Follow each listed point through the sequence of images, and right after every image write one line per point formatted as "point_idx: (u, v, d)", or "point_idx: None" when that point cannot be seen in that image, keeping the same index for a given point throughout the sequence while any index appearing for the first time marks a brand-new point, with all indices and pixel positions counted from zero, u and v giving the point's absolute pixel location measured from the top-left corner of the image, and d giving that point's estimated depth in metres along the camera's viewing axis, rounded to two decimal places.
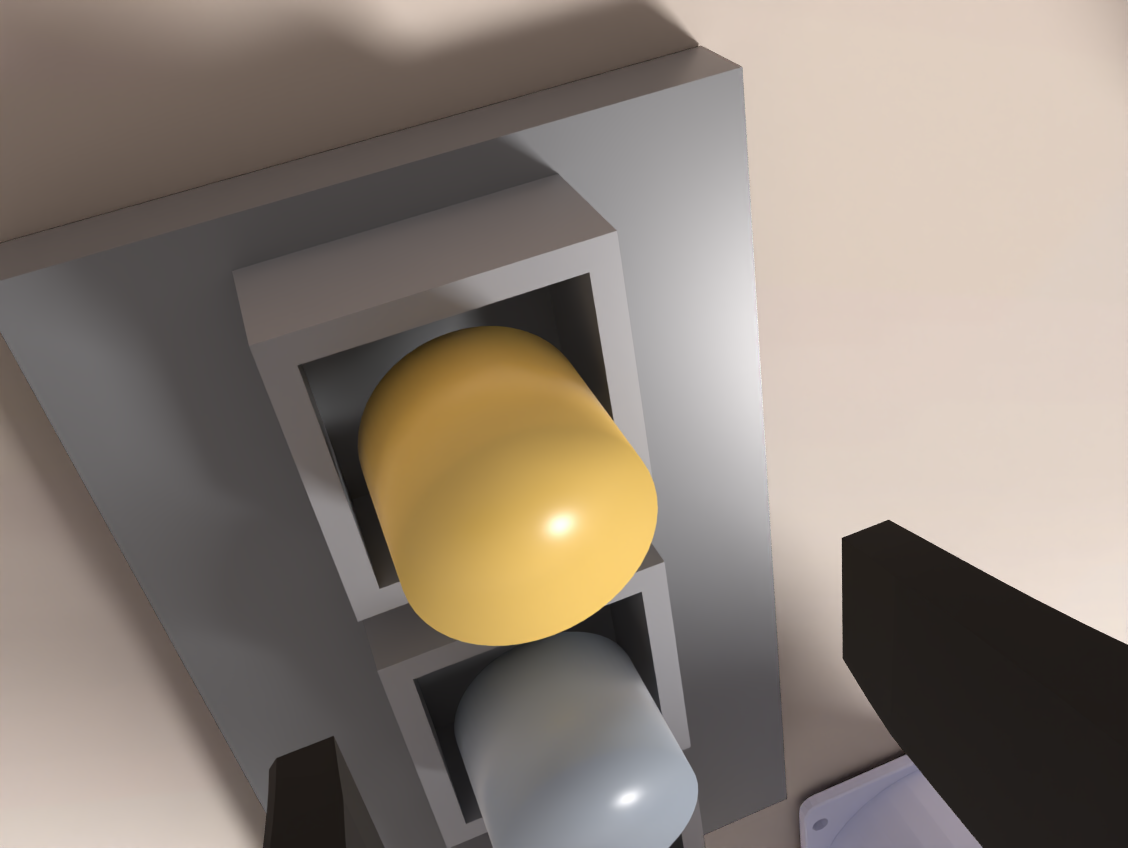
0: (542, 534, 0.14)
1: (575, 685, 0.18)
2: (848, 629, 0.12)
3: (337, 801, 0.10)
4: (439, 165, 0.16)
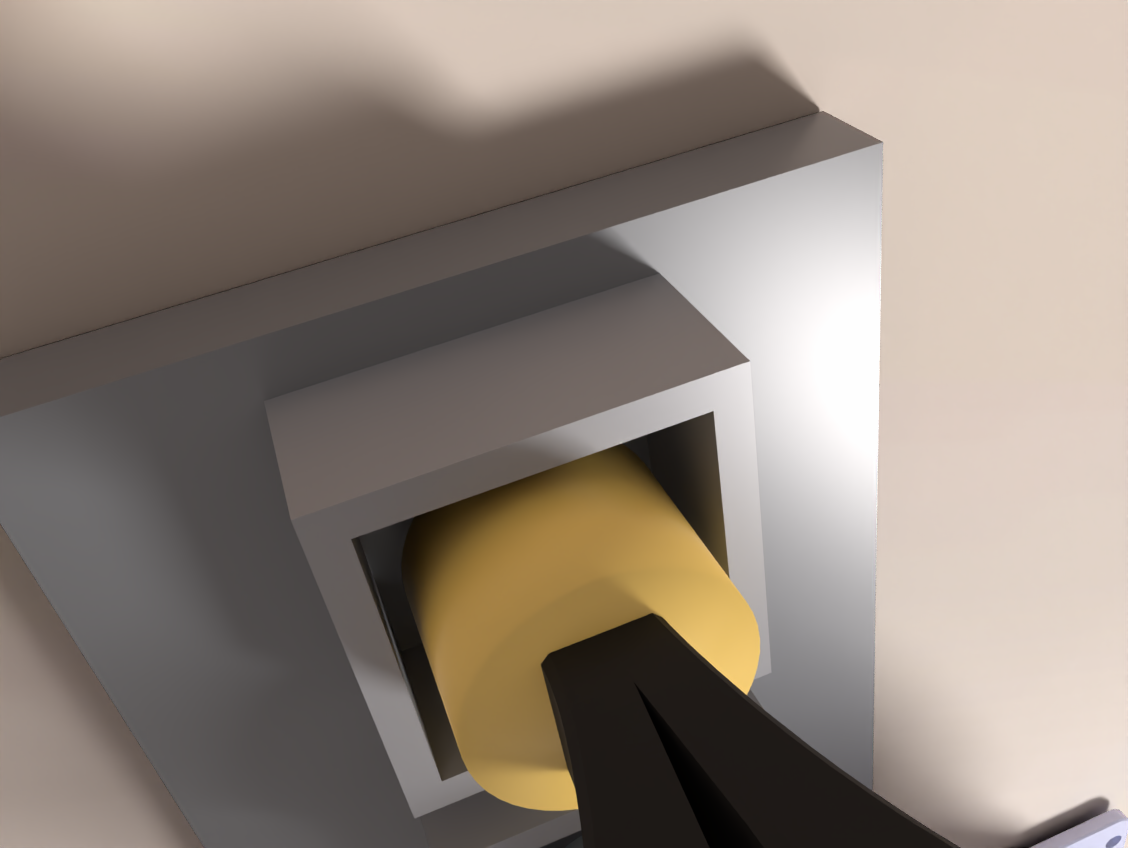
0: None
1: None
2: None
3: (627, 685, 0.10)
4: (519, 269, 0.13)
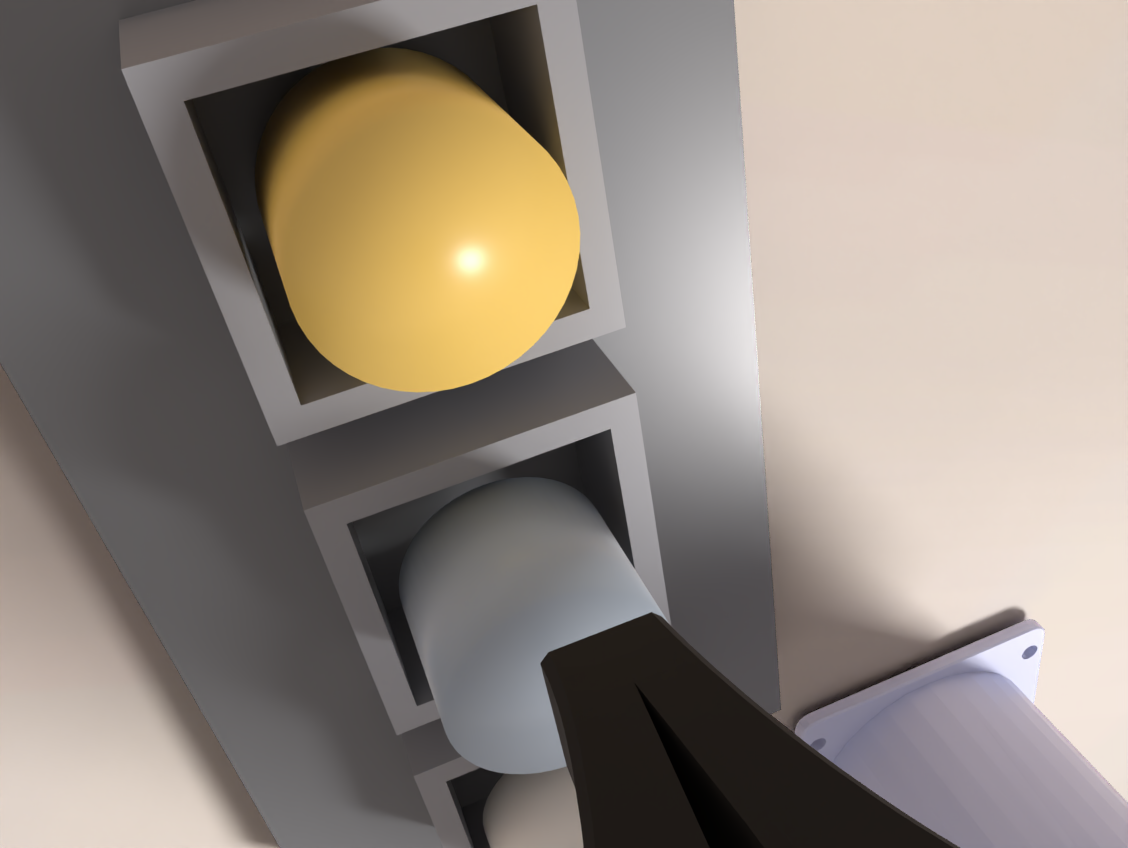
0: (449, 251, 0.13)
1: (533, 528, 0.16)
2: None
3: (627, 685, 0.10)
4: None
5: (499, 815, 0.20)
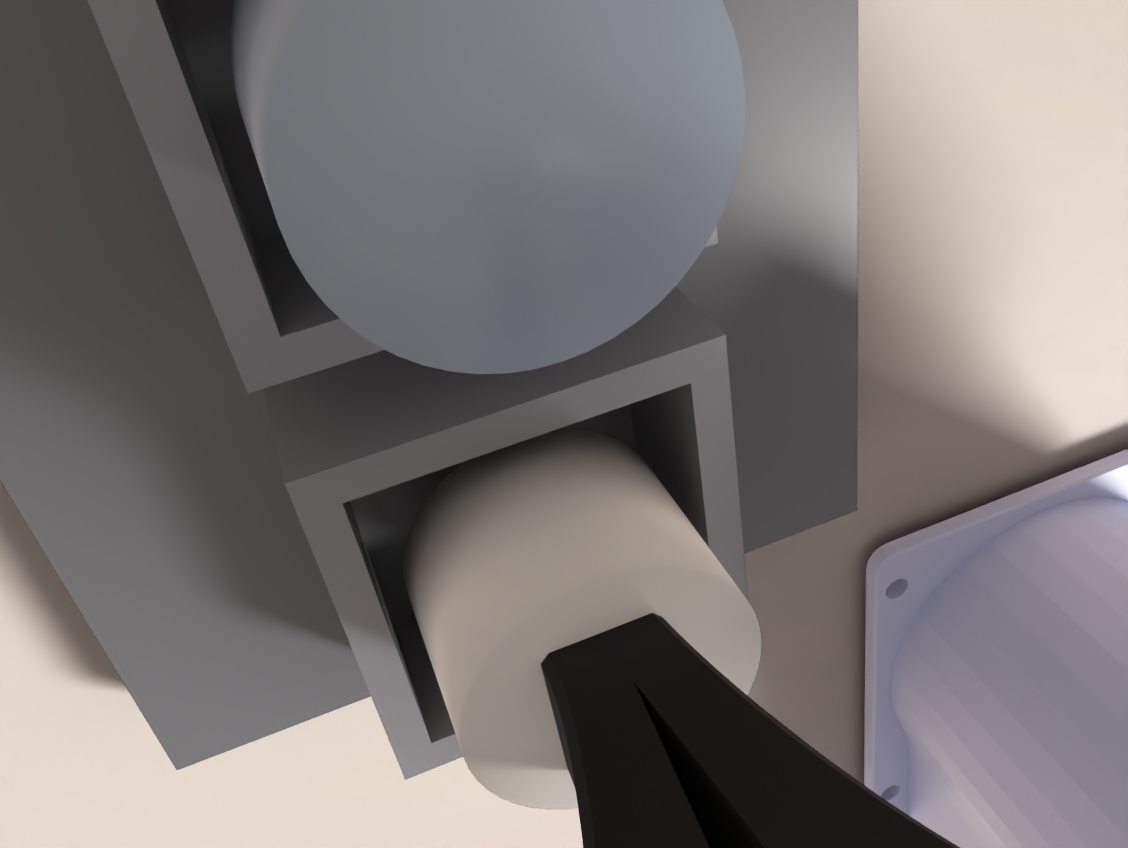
0: None
1: None
2: None
3: (627, 684, 0.10)
4: None
5: (424, 547, 0.13)
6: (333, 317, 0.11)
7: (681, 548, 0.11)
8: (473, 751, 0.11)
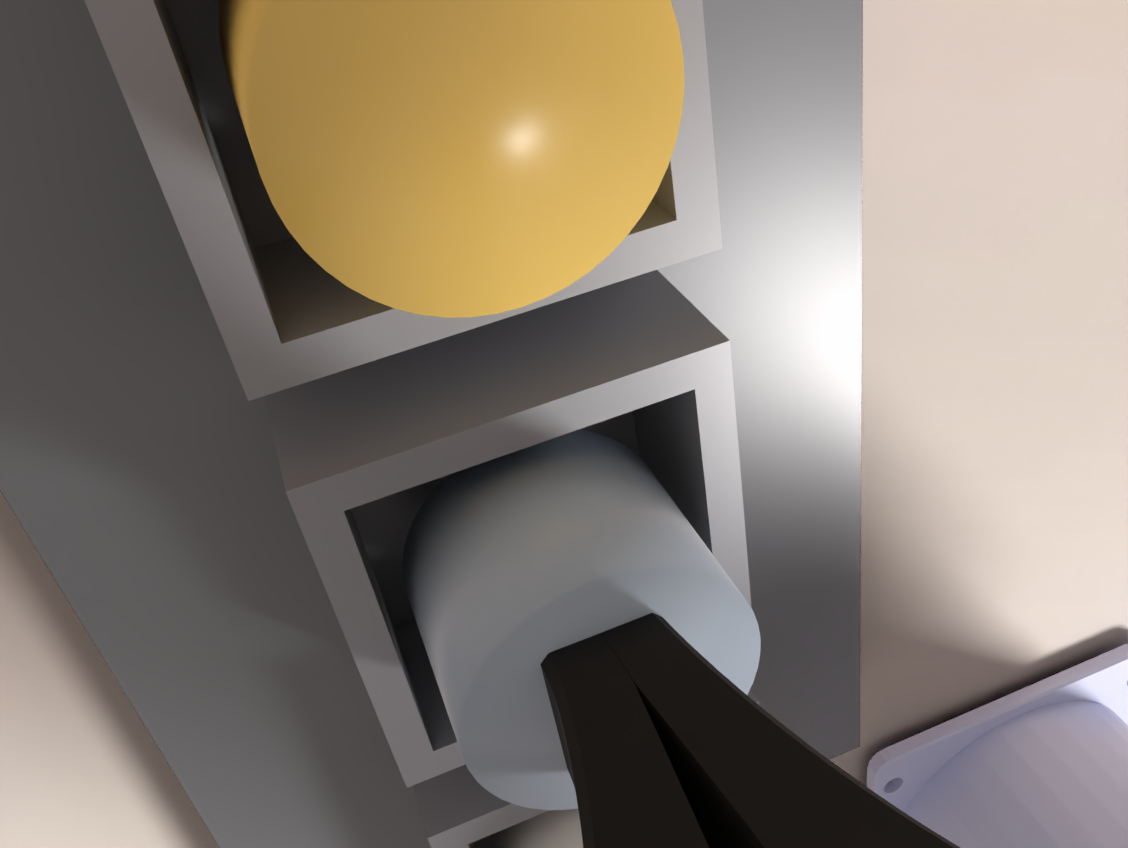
0: (495, 101, 0.09)
1: (578, 489, 0.12)
2: None
3: (627, 685, 0.10)
4: None
5: None
6: None
7: None
8: None
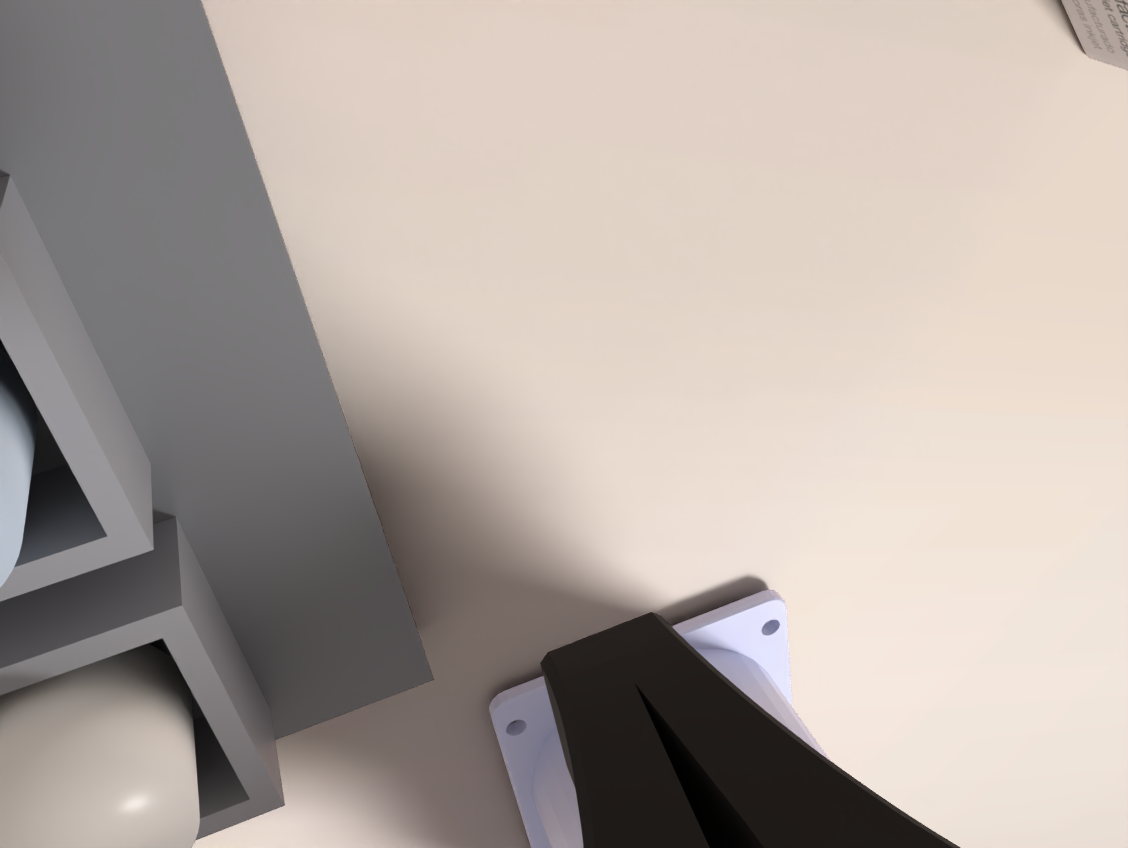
0: None
1: None
2: None
3: (627, 684, 0.10)
4: None
5: None
6: None
7: (115, 736, 0.17)
8: None
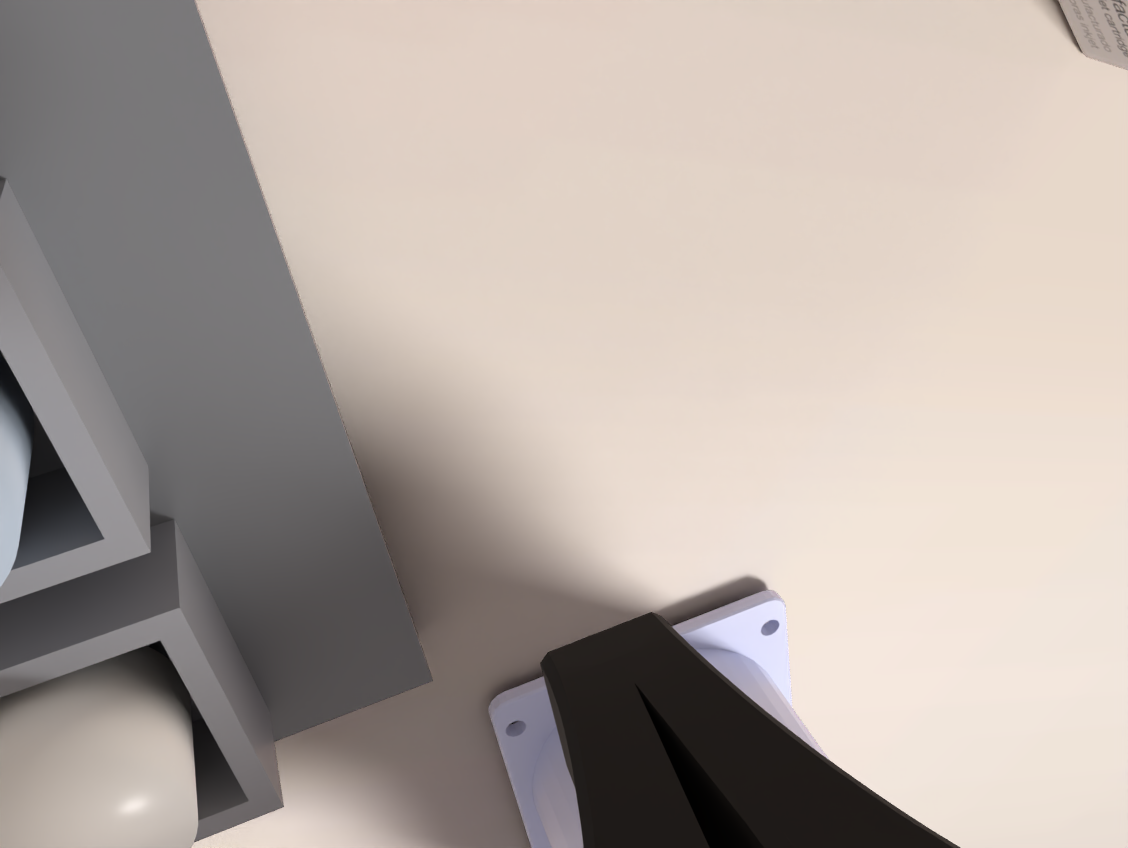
0: None
1: None
2: None
3: (627, 685, 0.10)
4: None
5: None
6: None
7: (113, 738, 0.17)
8: None
